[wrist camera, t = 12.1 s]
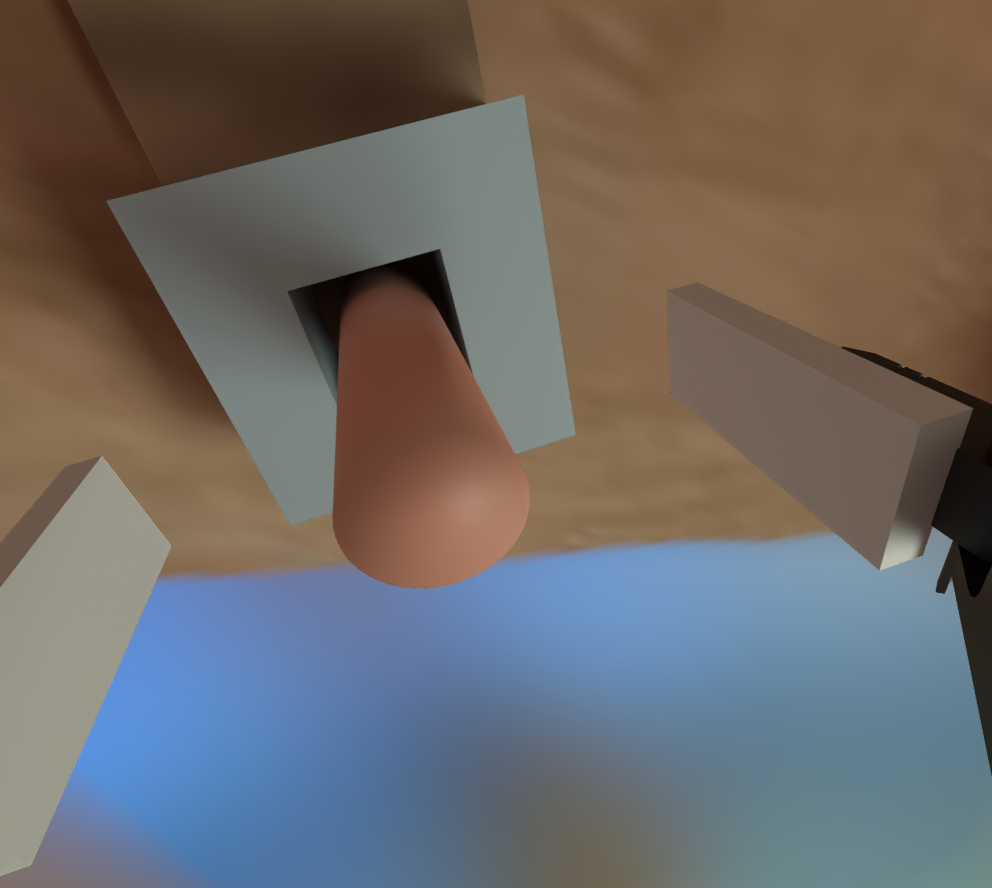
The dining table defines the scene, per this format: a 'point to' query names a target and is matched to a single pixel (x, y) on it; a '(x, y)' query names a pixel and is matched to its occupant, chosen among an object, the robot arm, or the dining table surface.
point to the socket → (351, 248)
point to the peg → (416, 443)
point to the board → (280, 82)
